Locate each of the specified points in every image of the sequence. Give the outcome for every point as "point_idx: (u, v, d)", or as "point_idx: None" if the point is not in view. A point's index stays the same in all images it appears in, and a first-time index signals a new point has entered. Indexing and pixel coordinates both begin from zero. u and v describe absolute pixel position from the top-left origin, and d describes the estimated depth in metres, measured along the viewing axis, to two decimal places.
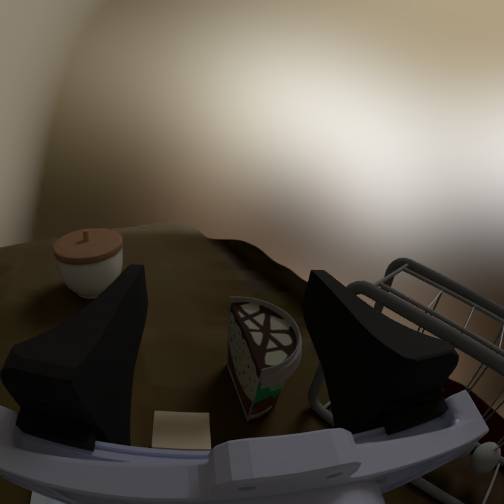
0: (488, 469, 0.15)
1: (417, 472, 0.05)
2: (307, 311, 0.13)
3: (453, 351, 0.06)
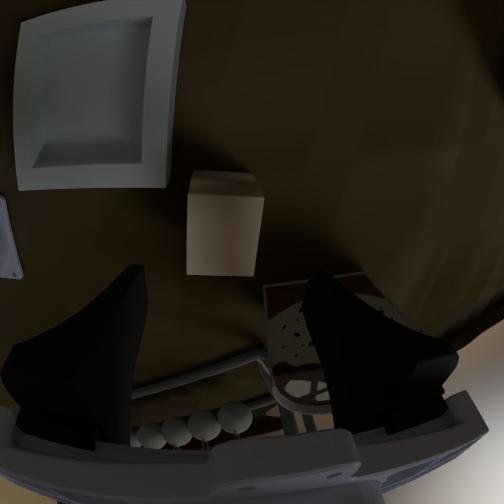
0: None
1: (417, 472, 0.05)
2: (307, 311, 0.13)
3: (453, 351, 0.06)
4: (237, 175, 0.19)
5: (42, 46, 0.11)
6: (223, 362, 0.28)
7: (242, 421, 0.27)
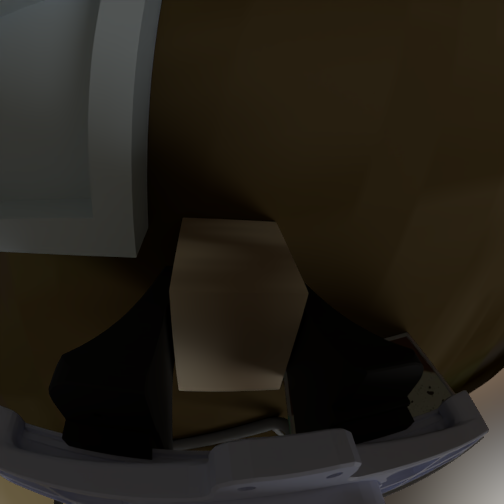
0: None
1: (417, 472, 0.05)
2: None
3: (415, 361, 0.06)
4: (253, 228, 0.12)
5: None
6: (231, 431, 0.22)
7: None
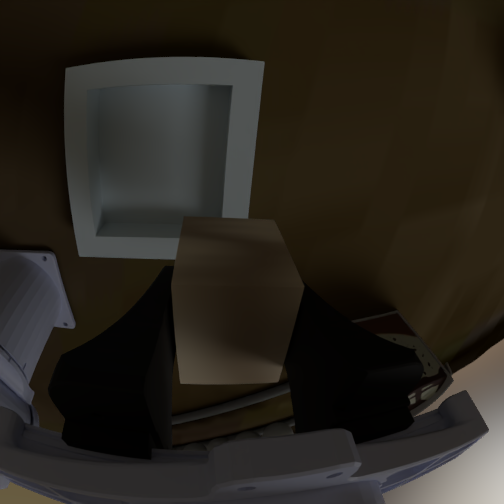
0: None
1: (417, 472, 0.05)
2: None
3: (415, 361, 0.06)
4: (252, 226, 0.12)
5: (94, 99, 0.13)
6: (270, 390, 0.30)
7: None
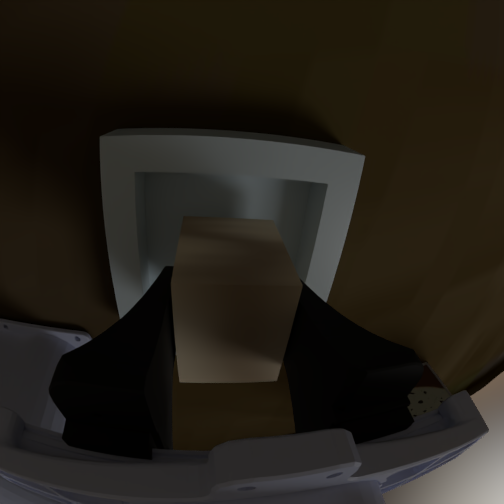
0: None
1: (417, 472, 0.05)
2: None
3: (415, 361, 0.06)
4: (251, 225, 0.13)
5: (141, 178, 0.12)
6: None
7: None
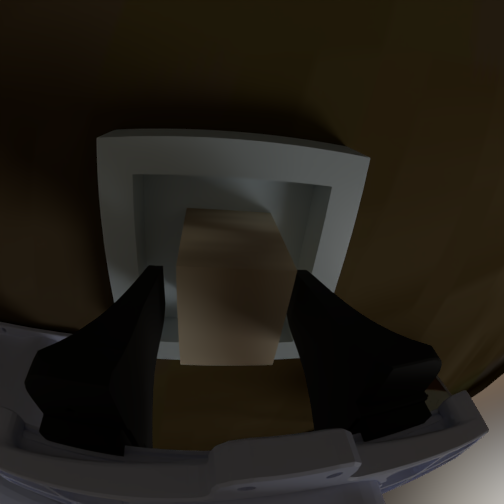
0: None
1: (417, 472, 0.05)
2: (290, 312, 0.13)
3: (434, 356, 0.06)
4: (250, 217, 0.13)
5: (139, 181, 0.12)
6: None
7: None
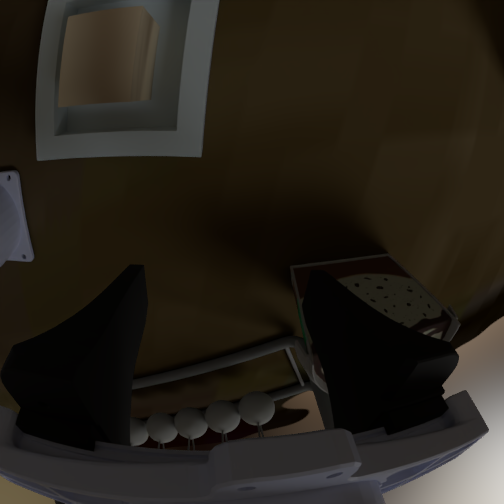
0: None
1: (417, 472, 0.05)
2: (307, 311, 0.13)
3: (453, 351, 0.06)
4: None
5: (71, 14, 0.11)
6: (251, 349, 0.28)
7: (266, 412, 0.26)
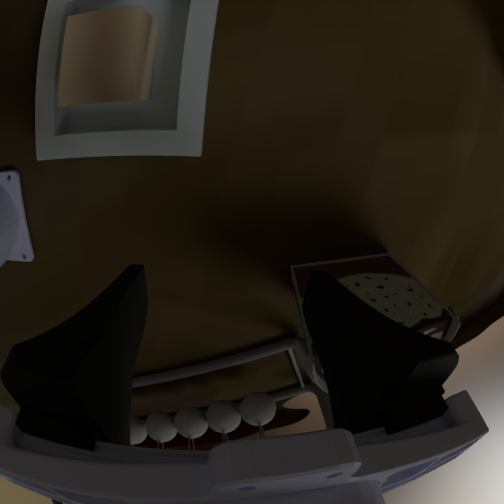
0: None
1: (417, 472, 0.05)
2: (307, 311, 0.13)
3: (453, 351, 0.06)
4: None
5: (71, 13, 0.11)
6: (254, 350, 0.28)
7: (268, 412, 0.26)
